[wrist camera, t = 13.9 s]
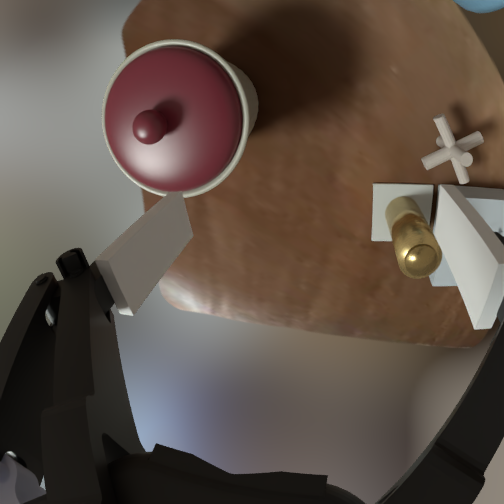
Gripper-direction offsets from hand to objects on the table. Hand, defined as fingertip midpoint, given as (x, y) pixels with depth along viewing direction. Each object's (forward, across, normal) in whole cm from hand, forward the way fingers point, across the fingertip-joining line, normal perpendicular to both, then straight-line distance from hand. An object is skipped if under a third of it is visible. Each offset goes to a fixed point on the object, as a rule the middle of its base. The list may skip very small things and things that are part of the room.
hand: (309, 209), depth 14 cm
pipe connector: (+32, +18, -3) cm, 37 cm away
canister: (+32, -15, +4) cm, 36 cm away
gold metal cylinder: (+31, +12, -15) cm, 37 cm away
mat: (+32, +12, -15) cm, 37 cm away
